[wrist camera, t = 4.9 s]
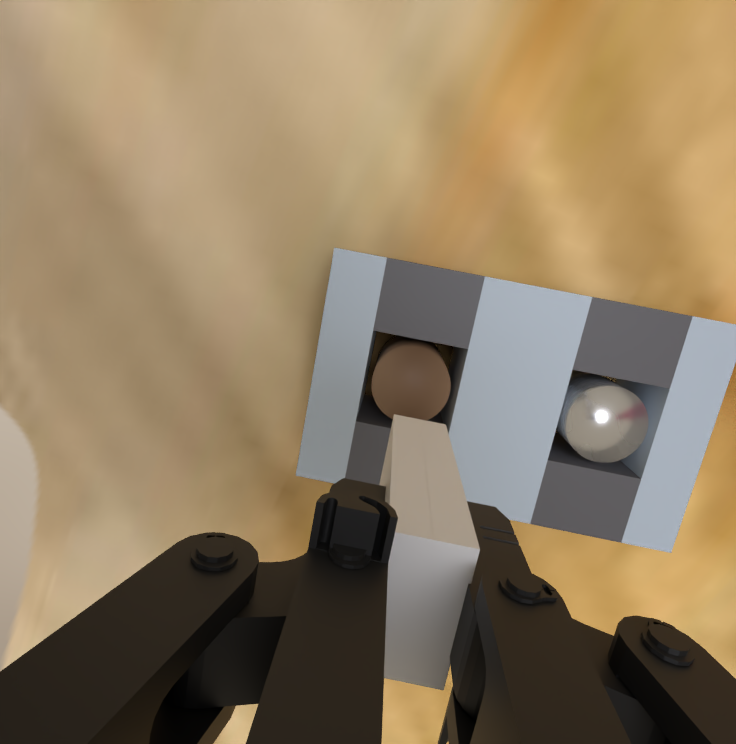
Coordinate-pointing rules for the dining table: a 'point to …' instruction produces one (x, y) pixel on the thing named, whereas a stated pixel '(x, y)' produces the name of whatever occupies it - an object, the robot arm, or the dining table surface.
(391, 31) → the dining table surface
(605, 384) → the grey metal peg
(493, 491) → the socket block
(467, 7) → the dining table surface
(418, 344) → the walnut peg
